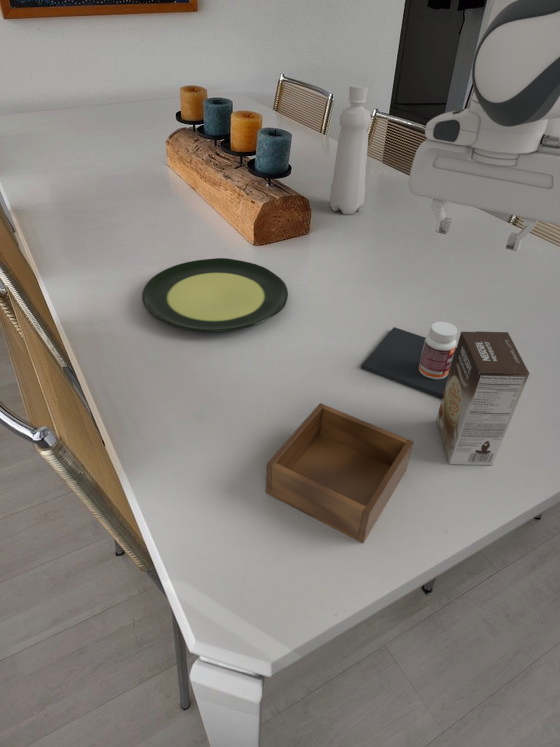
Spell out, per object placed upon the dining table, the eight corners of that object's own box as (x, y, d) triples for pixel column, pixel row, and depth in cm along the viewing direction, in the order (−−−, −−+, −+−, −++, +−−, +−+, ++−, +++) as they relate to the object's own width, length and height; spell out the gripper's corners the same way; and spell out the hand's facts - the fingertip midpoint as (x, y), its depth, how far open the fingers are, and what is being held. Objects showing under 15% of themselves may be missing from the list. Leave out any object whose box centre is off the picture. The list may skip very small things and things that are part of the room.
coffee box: (433, 419, 81) (459, 328, 71) (476, 421, 81) (507, 330, 71) (448, 465, 73) (478, 371, 64) (495, 467, 73) (532, 373, 64)
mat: (503, 367, 92) (504, 363, 91) (480, 413, 82) (482, 409, 82) (393, 330, 100) (393, 326, 99) (360, 368, 90) (361, 364, 90)
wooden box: (406, 470, 73) (413, 441, 69) (363, 543, 63) (369, 514, 60) (317, 431, 78) (320, 402, 75) (265, 493, 69) (266, 463, 65)
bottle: (369, 209, 148) (385, 86, 129) (351, 218, 142) (365, 91, 124) (340, 201, 152) (352, 81, 134) (322, 210, 146) (332, 85, 128)
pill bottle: (449, 382, 87) (461, 338, 82) (418, 378, 87) (429, 334, 82) (447, 364, 90) (458, 321, 85) (417, 361, 91) (427, 318, 86)
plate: (150, 269, 116) (148, 258, 114) (280, 267, 119) (280, 256, 117) (135, 343, 94) (133, 331, 92) (295, 338, 97) (296, 327, 95)
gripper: (604, 137, 62) (563, 250, 70) (431, 112, 70) (413, 216, 79) (596, 149, 58) (554, 268, 66) (413, 121, 66) (396, 230, 74)
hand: (476, 240), depth 72 cm, fingers open, 8 cm apart
